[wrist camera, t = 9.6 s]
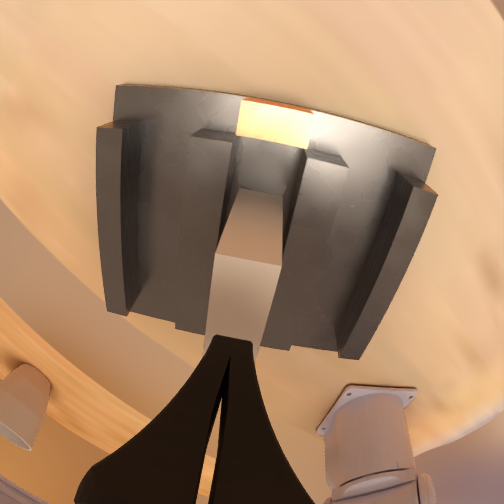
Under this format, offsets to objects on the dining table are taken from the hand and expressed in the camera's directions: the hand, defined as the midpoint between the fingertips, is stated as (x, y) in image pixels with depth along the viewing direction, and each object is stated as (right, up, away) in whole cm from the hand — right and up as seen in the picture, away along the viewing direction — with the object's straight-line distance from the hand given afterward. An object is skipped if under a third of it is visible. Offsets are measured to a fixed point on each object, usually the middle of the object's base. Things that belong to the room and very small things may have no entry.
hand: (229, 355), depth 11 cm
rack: (+1, +5, +9) cm, 10 cm away
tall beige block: (+1, +4, +8) cm, 9 cm away
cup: (-28, -13, +22) cm, 38 cm away
